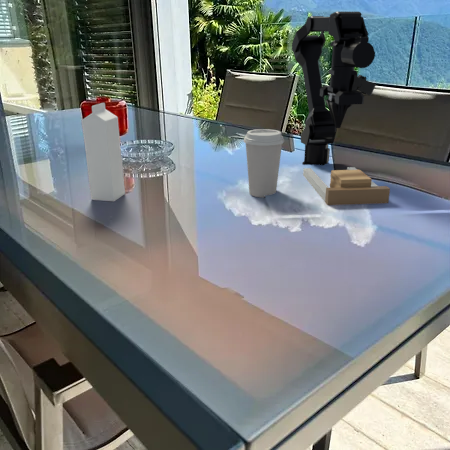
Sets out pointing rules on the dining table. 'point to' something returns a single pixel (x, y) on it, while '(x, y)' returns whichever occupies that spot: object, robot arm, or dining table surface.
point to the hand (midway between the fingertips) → (337, 127)
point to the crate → (349, 179)
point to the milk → (103, 154)
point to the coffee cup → (263, 160)
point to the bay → (347, 191)
